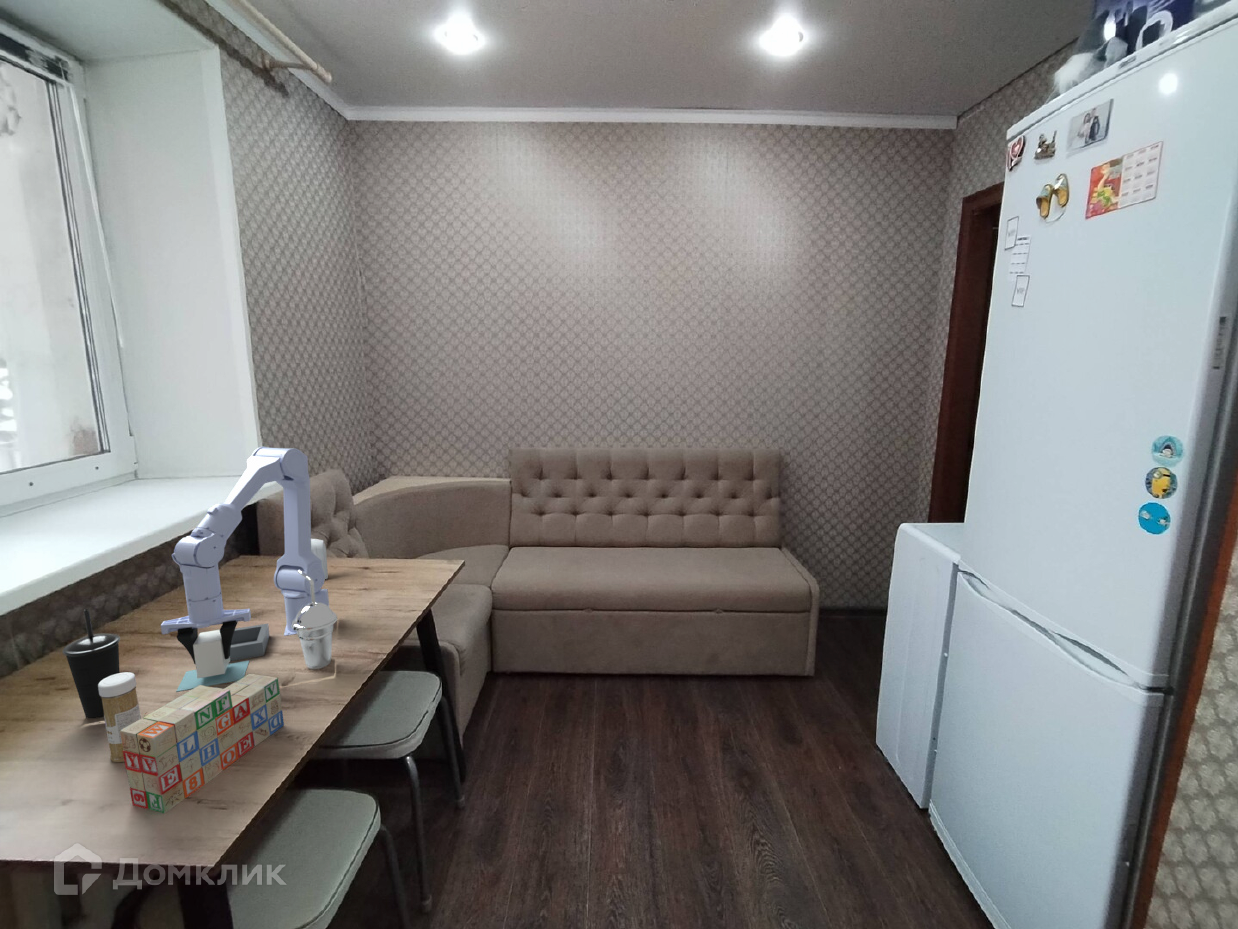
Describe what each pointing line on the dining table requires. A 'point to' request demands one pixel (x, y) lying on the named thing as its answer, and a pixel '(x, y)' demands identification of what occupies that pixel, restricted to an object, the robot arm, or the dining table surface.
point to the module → (209, 654)
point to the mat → (214, 677)
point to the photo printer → (320, 553)
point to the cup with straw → (315, 630)
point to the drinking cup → (92, 666)
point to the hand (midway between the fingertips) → (212, 659)
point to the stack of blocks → (197, 738)
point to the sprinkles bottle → (118, 709)
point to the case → (249, 642)
